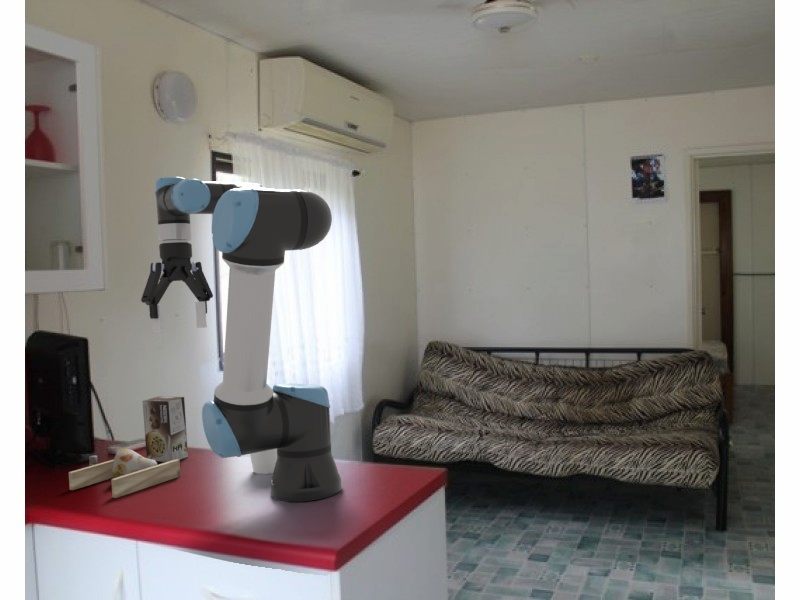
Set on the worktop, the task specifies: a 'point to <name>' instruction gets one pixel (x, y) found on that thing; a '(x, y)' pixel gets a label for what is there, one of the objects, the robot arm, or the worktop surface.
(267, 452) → the cup
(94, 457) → the crank handle
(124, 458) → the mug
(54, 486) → the worktop surface
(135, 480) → the bay
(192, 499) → the worktop surface
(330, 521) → the worktop surface
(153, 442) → the cookie box
